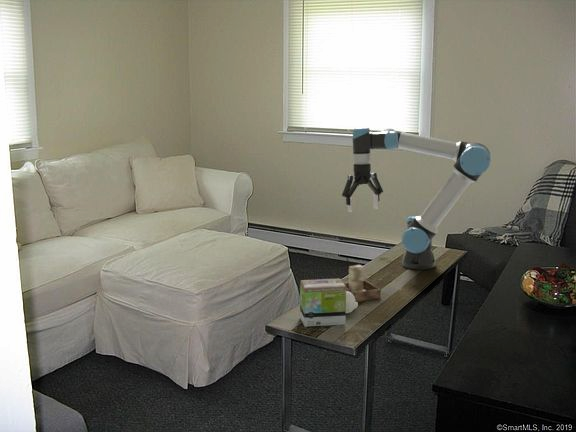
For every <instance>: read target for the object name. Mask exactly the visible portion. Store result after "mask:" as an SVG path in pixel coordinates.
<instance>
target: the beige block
mask: <svg viewBox="0 0 576 432" xmlns="http://www.w3.org/2000/svg"><path fill="white" fill-rule="evenodd" d="M363 280H364V266H363V265H361V264H355V265H350V266H348V282H349V290H351V291H352V292H361V291H366V290H364V289H363Z"/></svg>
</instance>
